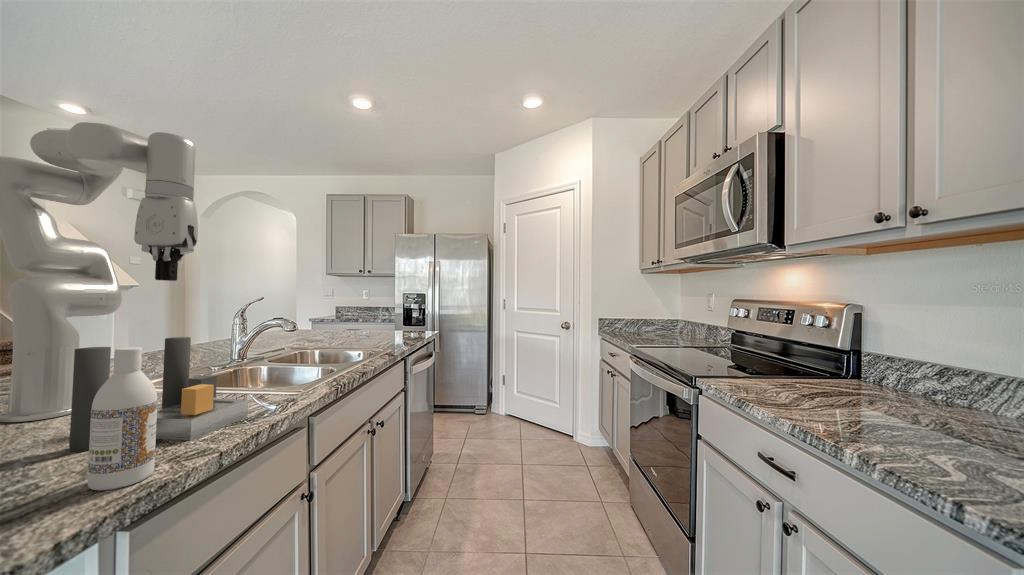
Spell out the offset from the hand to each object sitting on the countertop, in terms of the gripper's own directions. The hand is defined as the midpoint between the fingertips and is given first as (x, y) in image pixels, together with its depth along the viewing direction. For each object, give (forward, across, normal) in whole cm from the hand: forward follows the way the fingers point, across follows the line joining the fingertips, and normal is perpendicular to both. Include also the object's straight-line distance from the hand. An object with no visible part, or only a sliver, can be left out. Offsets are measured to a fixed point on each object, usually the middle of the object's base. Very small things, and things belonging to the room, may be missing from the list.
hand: (166, 280), depth 78 cm
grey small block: (+27, +3, +6) cm, 28 cm away
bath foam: (+31, +16, -20) cm, 40 cm away
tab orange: (+27, +10, -2) cm, 29 cm away
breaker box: (+31, +6, +2) cm, 32 cm away
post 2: (+31, -4, +7) cm, 32 cm away
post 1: (+31, -3, -10) cm, 33 cm away
